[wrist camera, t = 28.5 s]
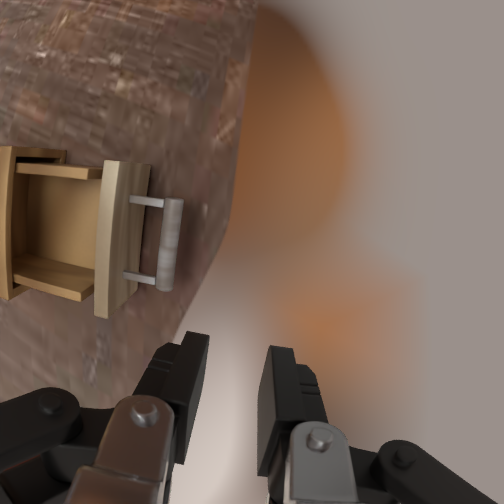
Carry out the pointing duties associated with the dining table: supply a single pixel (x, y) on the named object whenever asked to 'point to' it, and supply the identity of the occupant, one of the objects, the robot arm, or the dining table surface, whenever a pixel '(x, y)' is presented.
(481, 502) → the robot arm
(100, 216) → the drawer
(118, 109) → the dining table surface
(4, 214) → the cabinet
